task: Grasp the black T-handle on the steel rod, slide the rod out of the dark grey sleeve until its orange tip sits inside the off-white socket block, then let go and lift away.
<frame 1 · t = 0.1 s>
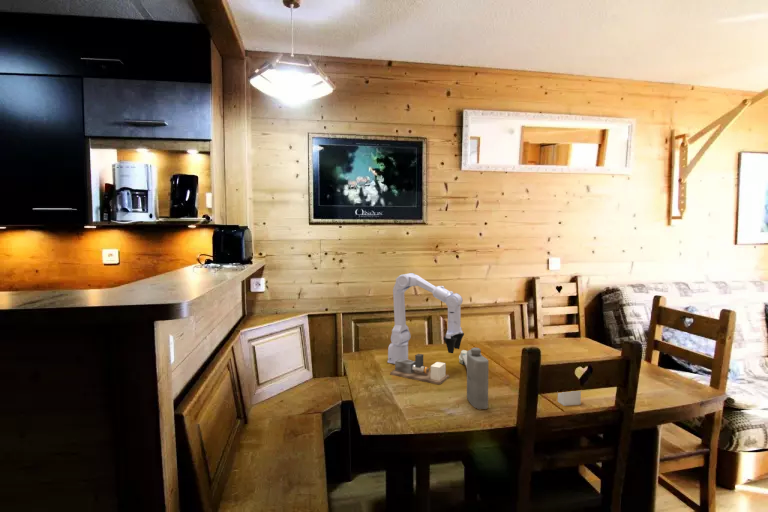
hand: (453, 350, 177), 10 cm above the table, tool pointing down, fingers open, 7 cm apart
track base: (419, 375, 174), on the table
flask: (476, 401, 147), on the table
light grey block: (569, 403, 145), on the table
toothbrush head: (468, 370, 182), on the table
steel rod: (413, 362, 175), point 6 cm above the table, slide at 0.0 cm
socket block: (438, 379, 169), resting on track base
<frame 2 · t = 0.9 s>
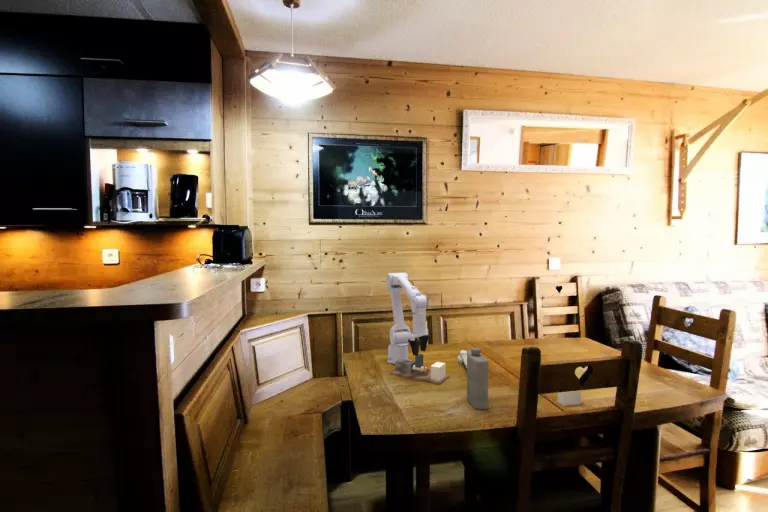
hand: (419, 353, 173), 10 cm above the table, tool pointing down, fingers open, 7 cm apart
nothing on the table moved.
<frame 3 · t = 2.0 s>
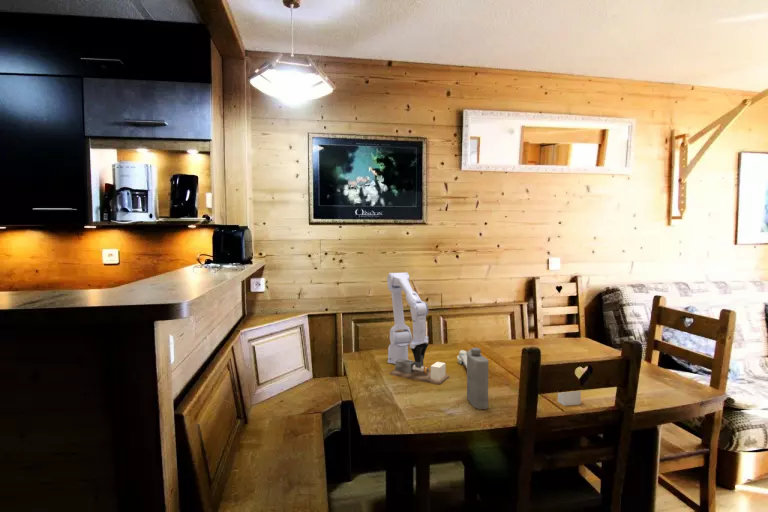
hand: (419, 360, 173), 7 cm above the table, tool pointing down, fingers closed on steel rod, 3 cm apart
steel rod: (413, 362, 175), point 6 cm above the table, slide at 0.0 cm, touching gripper
everything else where it was.
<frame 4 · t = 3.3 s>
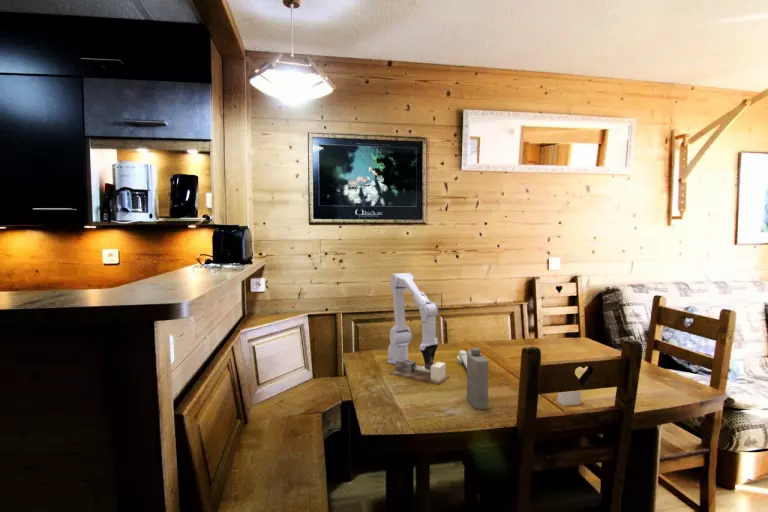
hand: (428, 362, 171), 7 cm above the table, tool pointing down, fingers closed on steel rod, 3 cm apart
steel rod: (422, 364, 173), point 6 cm above the table, slide at 4.6 cm, touching gripper
everything else where it was.
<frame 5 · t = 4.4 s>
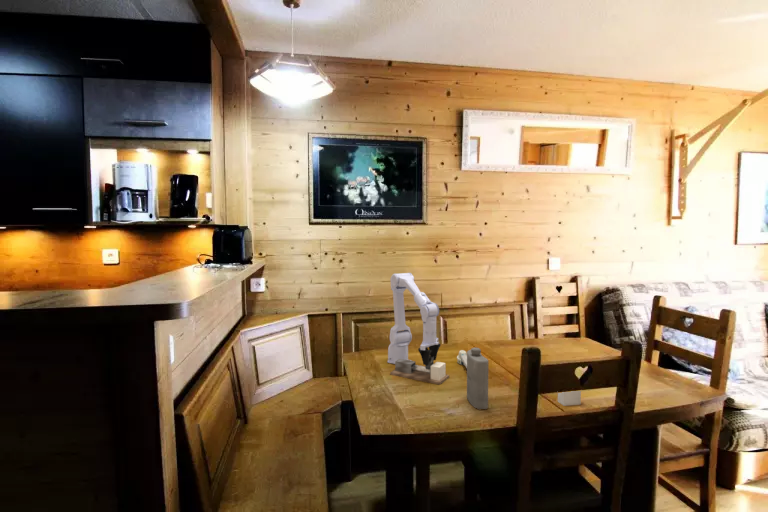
hand: (429, 362, 171), 7 cm above the table, tool pointing down, fingers open, 7 cm apart
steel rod: (423, 364, 172), point 6 cm above the table, slide at 4.9 cm
everything else where it was.
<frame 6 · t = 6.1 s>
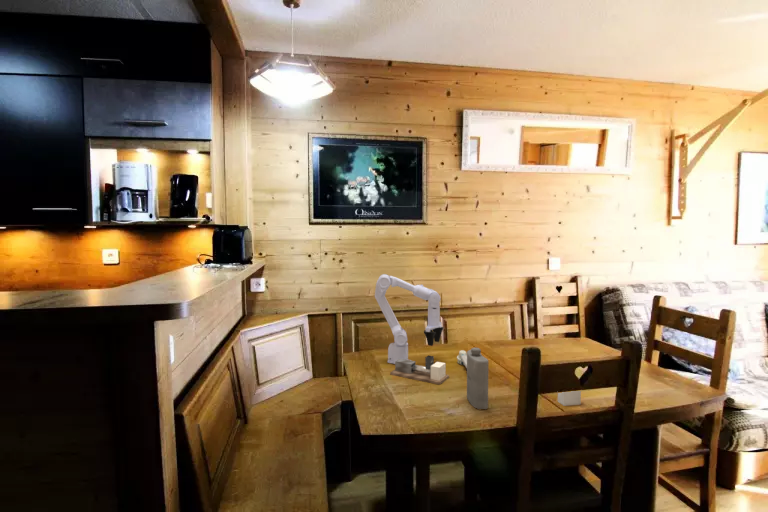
hand: (433, 343, 191), 9 cm above the table, tool pointing down, fingers open, 7 cm apart
nothing on the table moved.
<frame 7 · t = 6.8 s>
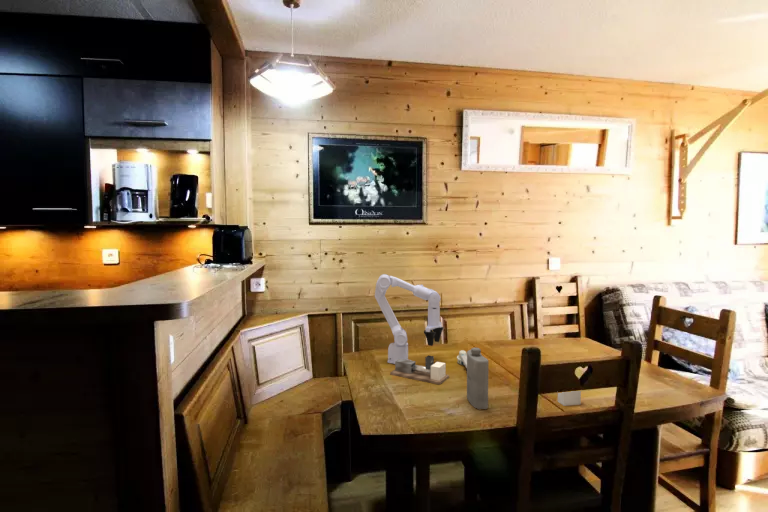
hand: (433, 343, 191), 9 cm above the table, tool pointing down, fingers open, 7 cm apart
nothing on the table moved.
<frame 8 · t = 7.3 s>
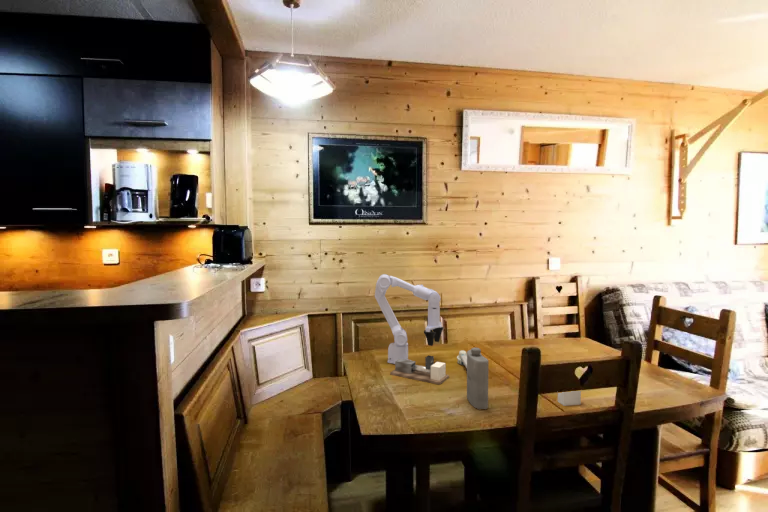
hand: (433, 343, 191), 9 cm above the table, tool pointing down, fingers open, 7 cm apart
nothing on the table moved.
at the end: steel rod slide at 4.9 cm; the gripper is holding nothing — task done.
